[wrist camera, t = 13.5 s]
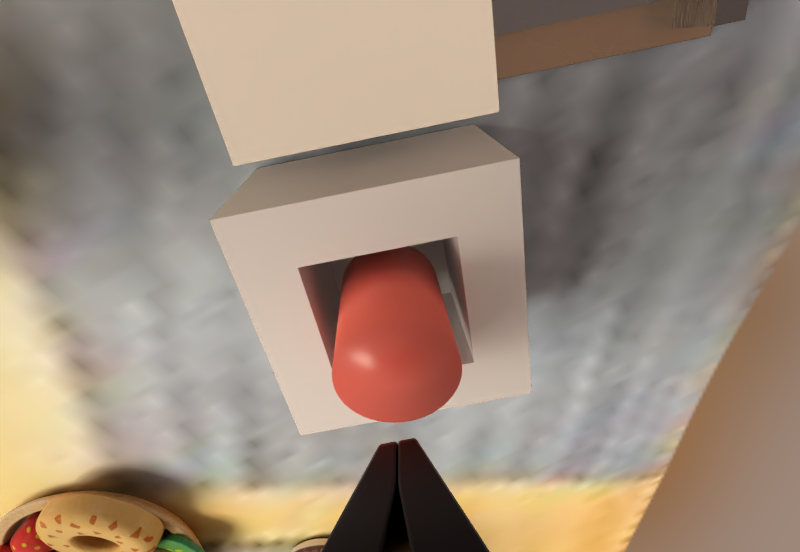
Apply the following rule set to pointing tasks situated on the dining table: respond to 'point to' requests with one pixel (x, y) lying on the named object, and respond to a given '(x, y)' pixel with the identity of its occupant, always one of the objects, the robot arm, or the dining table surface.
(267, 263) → the white button housing
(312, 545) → the supplement bottle
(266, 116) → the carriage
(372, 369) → the button
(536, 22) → the rail
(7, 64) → the dining table surface
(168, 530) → the toy food set
